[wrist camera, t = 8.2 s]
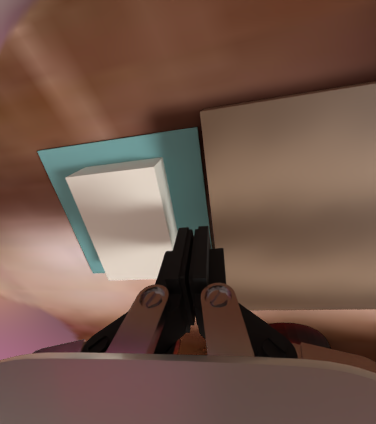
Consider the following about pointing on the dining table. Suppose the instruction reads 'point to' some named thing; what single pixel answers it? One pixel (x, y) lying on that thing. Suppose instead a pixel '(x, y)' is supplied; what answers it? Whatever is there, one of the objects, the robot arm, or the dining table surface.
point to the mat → (132, 151)
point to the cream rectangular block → (127, 215)
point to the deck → (296, 198)
